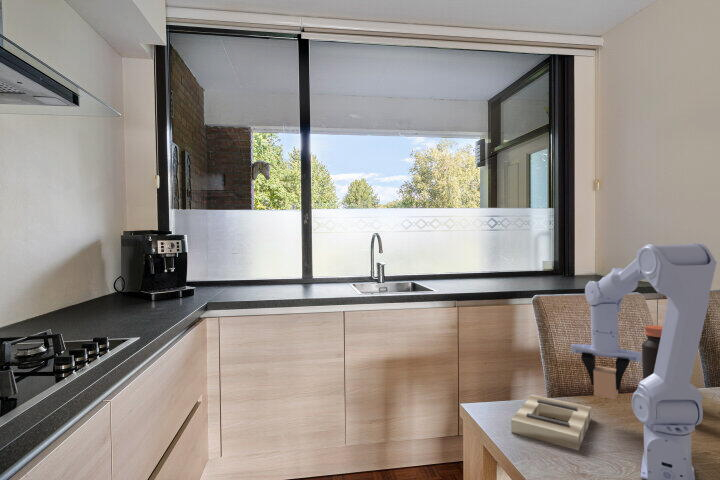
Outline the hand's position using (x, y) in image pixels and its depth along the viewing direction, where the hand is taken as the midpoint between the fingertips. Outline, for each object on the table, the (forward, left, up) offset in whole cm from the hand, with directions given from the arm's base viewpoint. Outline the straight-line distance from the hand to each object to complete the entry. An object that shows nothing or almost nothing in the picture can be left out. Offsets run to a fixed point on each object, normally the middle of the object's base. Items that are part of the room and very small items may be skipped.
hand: (605, 386), depth 97 cm
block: (0, 0, -2) cm, 2 cm away
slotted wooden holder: (-9, +10, -9) cm, 16 cm away
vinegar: (+23, -10, -9) cm, 27 cm away
